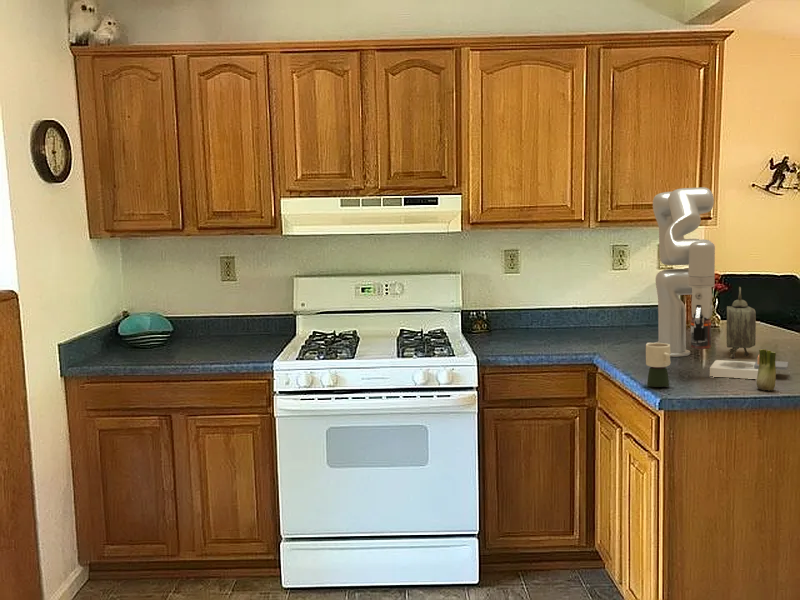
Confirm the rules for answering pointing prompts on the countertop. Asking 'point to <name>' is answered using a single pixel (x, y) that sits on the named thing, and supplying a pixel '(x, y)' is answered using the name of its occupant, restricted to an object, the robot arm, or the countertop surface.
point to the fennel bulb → (766, 370)
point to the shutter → (777, 363)
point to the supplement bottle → (707, 342)
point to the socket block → (734, 369)
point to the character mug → (658, 364)
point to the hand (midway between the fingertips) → (700, 337)
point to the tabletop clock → (740, 326)
